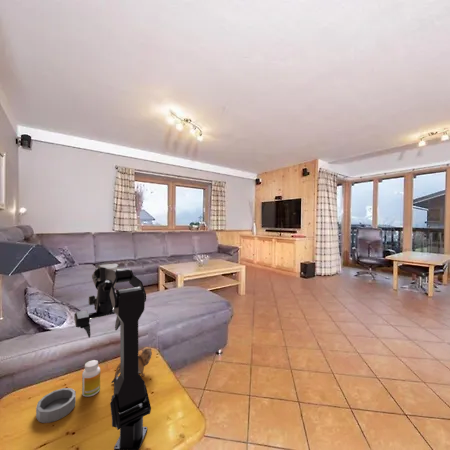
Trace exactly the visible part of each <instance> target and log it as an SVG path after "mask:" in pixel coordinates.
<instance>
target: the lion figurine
mask: <svg viewBox="0 0 450 450" xmlns="http://www.w3.org/2000/svg"><path fill="white" fill-rule="evenodd" d="M152 355H153V351H152V347H148V346H146V347H144V348H142V349H141V352H140V354H139V353H138V360H139V374H140V376H141V377H145V375H146V374H145V373H144V369H145V367H146V366H148V365H149V363H150V360H151V359H152ZM119 375H120V363H118V364H117V367H116V368H115V373H114V378H113V380H112V381H111V383H112V384H114V380H115V378H117V377H119Z"/></svg>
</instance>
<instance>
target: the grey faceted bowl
mask: <svg viewBox="0 0 450 450" xmlns="http://www.w3.org/2000/svg"><path fill="white" fill-rule="evenodd" d="M76 395H77V393H76V390H75V389H74V388H70V387H63V388H59V389H56V390H53V391H51V392H50V393H49V392H48V393H46V395H44V396H43V397H42V398H40V400H38V402H37V404H36V407H35V409H36V410H35V418H36V419H37V421H38V422H39V423H41V424H49V423H53V422H56V421H59V420H62V419H63V418H65V417H66V416H68V415H69V414H70V413H71V412H72V411H73V410H74V408H75V407H76V399H77V397H76Z"/></svg>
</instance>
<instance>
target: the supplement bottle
mask: <svg viewBox="0 0 450 450" xmlns="http://www.w3.org/2000/svg"><path fill="white" fill-rule="evenodd" d="M81 375H82V376H81V377H82V378H81V379H82V380H81V383H82V384H81V395H82V396H83V397H86V398H87V397H88V398H89V397H93V396H95V395H96V394H98V393H99V392H100V390H101V367H100V366H99V361H98V360H95V359H93V360H89V361H87V362H85V364H84V370H82V374H81Z"/></svg>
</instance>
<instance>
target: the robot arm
mask: <svg viewBox="0 0 450 450" xmlns="http://www.w3.org/2000/svg"><path fill="white" fill-rule="evenodd" d="M91 280H92V282H93V284H94V287H95V289H96V290H97V291H96V293H97V294H96V296H95V295H89V296H88V305H89V306H94V307H93V309H94V310H95V312H91V313H89V312H88V310H87V309H86V310H85V309H84V310H79V311H76V312H75V313H74V315H73V321H74V324H75V328H80V329H84V331H85V332H86V334H87V337H88V338H91V335H92V334H91V324H90V320H93V319H94V320H95V319H99V318H104V317H107V316H110V315H114V314H115V315H116V317H115V323H114V324H115V326H114V331H118V330H119V329H120V331H119V333H120V335H119V337H120V340H119V341H120V346H119V347H120V352H119V353H120V373H119V374H118V377H117V378H115V380H114V382H113V395H111V398H110V402H109V403H110V404H109V405H110V406H109V407H110V412H111V413H110V414H111V426H112V428H116V430H117V431H119V437H118V439H117V441H116V443H115V445H114V448H113V449H114V450H140V449H141V446H142V445H143V441H144V438H145V436H146V434H147V432H148V427H147V426H144V417H145V416H147V415H151V412H152V406H151V402H150V398H149V394H148V390H147V386H146V382H145V380H144V379H143V377H142V376H141V374H140V373H139V360H138V356H139V320H140V319H141V317H142V315H143V313H144V311H145V305H146V301H147V292H146V289H145V287H144V285H143V284H144V283H143V282H142V280H140V279H139V278H138V277H137V276H135V275H134V272H133V269H132V268H129V267H126V268H125V267H124V268H123V267H120V265H119V264H118V263H108V264H98V265H97V267H96V268H95V269H94V271H93V273H92V274H91ZM120 283H128V284H130V285H131V286H132V287H128V288H122V289H117V290H116V286H117V284H120Z"/></svg>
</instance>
